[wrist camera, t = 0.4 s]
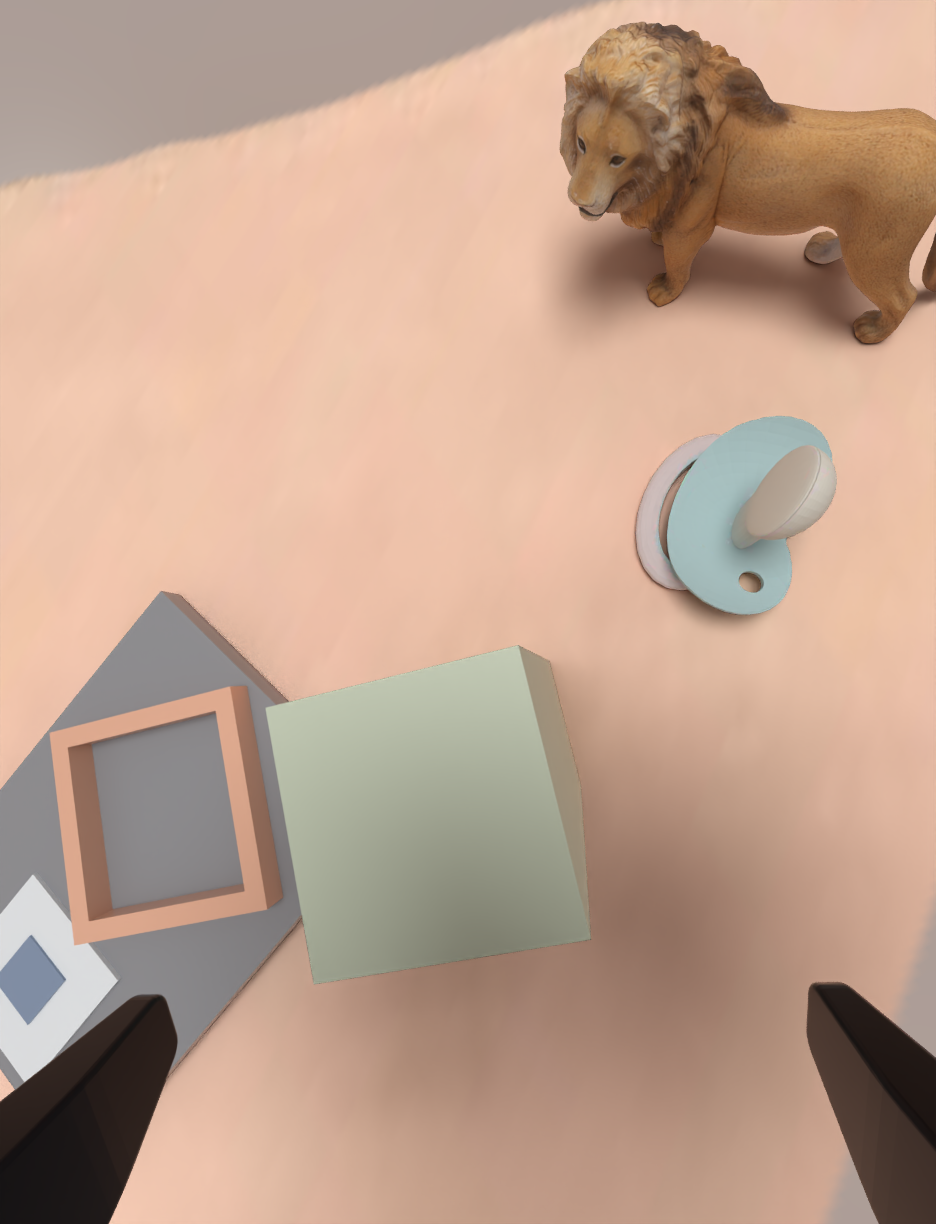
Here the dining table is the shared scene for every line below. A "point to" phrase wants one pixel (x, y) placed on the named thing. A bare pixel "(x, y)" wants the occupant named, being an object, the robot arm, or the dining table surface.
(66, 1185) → the robot arm
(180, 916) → the collar
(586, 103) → the lion figurine
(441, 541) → the dining table surface
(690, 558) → the pacifier
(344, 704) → the pillar
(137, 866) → the baseplate
